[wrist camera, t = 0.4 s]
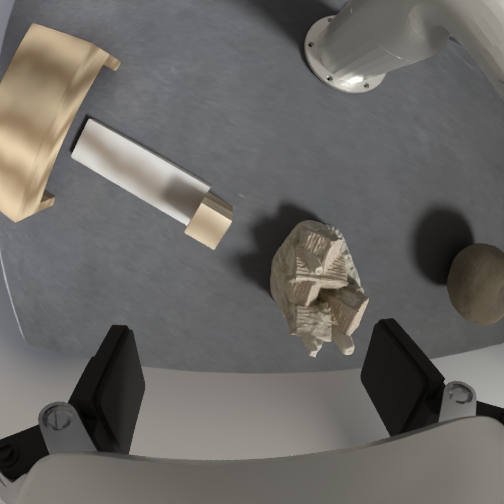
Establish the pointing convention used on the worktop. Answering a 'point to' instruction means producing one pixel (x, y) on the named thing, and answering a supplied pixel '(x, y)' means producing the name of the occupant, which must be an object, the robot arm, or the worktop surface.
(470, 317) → the cantaloupe
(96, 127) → the tan piece
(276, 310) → the worktop surface
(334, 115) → the worktop surface
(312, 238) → the ceramic cottage
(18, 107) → the oak bench
